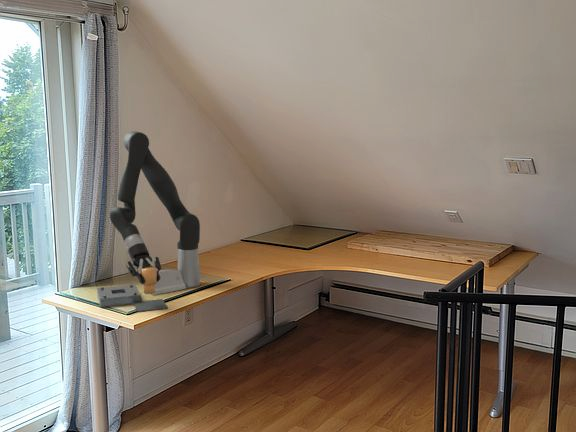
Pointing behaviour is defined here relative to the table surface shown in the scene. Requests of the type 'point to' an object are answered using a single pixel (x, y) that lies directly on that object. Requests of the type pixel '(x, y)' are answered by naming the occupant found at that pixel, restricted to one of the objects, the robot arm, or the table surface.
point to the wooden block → (149, 279)
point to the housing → (118, 295)
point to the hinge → (169, 282)
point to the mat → (150, 305)
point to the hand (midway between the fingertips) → (151, 281)
